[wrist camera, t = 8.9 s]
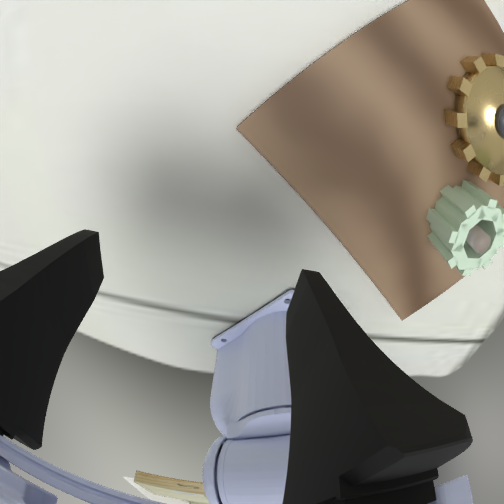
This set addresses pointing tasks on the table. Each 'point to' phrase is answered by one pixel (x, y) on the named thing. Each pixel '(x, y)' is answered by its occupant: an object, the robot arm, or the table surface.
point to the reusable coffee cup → (196, 502)
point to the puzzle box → (171, 487)
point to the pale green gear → (465, 226)
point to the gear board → (383, 140)
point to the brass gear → (479, 116)
